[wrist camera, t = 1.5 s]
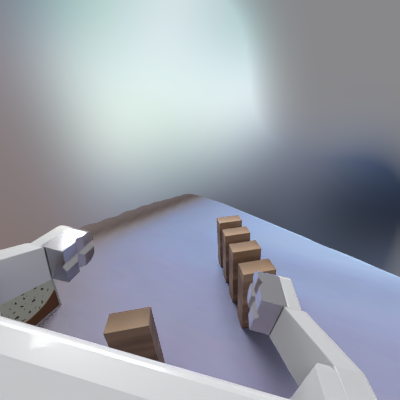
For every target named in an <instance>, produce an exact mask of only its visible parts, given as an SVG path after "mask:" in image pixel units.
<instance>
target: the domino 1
mask: <svg viewBox="0 0 400 400" xmlns="http://www.w3.org/2000/svg"><path fill="white" fill-rule="evenodd" d="M104 336H105V339H106V341H107V343H108V346H109V347H110V348H113V349H117V350H120V351H124V352H127V353H131V354H134V355H138V356H141V357H145V358H148V359H151V360H155V361H158V362H162V363H165V362H164V358H163V354H162V350H161V346H160V342H159V338H158V334H157V330H156V326H155V322H154V318H153V314H152V310H151V307H147V308H141V309H135V310H130V311H124V312H118V313H112V314H109V317H108V321H107V324H106V327H105V330H104Z"/></svg>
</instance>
